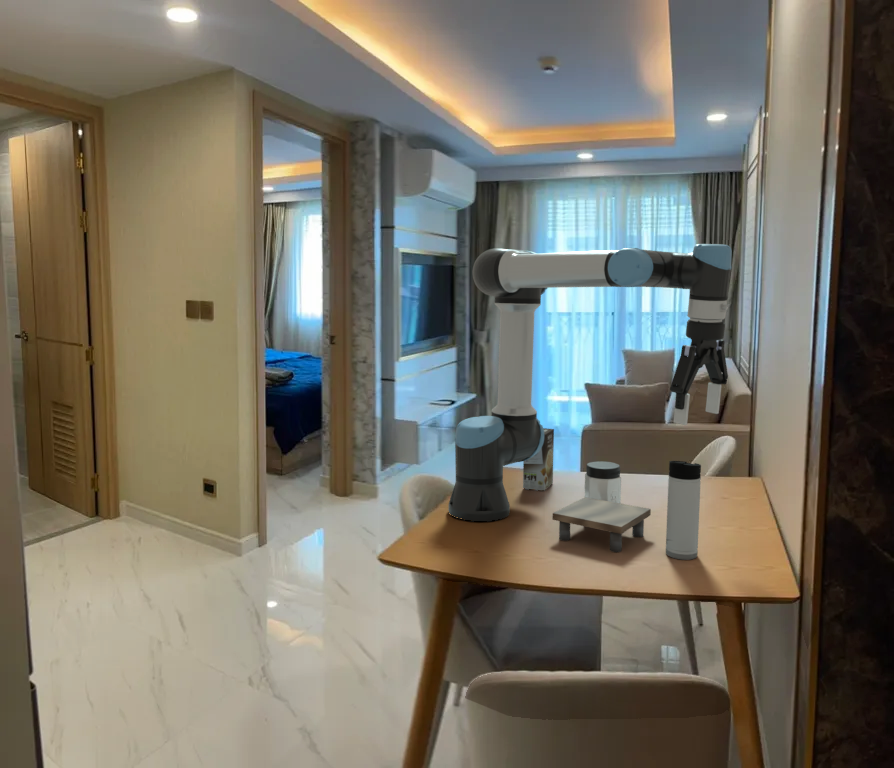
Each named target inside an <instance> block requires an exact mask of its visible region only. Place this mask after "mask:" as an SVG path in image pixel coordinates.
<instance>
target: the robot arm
mask: <svg viewBox="0 0 894 768" xmlns="http://www.w3.org/2000/svg"><path fill="white" fill-rule="evenodd" d="M732 255H733V252H732V247H731V246H729V245H728V244H722V243H721V244H720V243H719V244H718V243H712V244H711V243H697V244H695V245H694V246H693V251H692V252H675V251H659V250H647V249H642V248H638V247H627V248H626V247H625V248H621V249H615V250H614V249H611V250H610V249H609V250H608V249H607V250H605V249H604V250H588V251H586V250H585V251H567V252H566V251H564V252H561V251H560V252H544V253H543V252H541V253H536V252H534V251H530V250H526V249H525V250H524V249H511V248H509V249H508V248H507V249H506V248H499V247H498V248H496V247H495V248H489V249H487V250H485V251H484V252H482V253H480V255H479V256H478V257H477V258H475V259H476V260H475V261H474V263H473V267H472V278H473V281H474V284H475V286H476V287H477V289H479V291H480V292H482V293H483V294H484V295H487V296H490V297H494V305H495V306H496V307H497V309H498V310H499V311H500V314H499V342H498V343H499V345H498V346H499V349H498V350H499V351H498V381H497V384H498V385H497V404H496V405H495V406H494V407H492V409H491V415H480V416H479V415H478V416H471V417H469V418H466V419H463V420H461V421H460V422H459V423H458V424H457V426H456V427H455V428H456V430H455V436H454V444H455V445H454V446H455V447H454V449H455V453H454V454H455V460H454V461H455V482H454V485H453V486H454V487H453V489H452V492H451V495H450V498H449V502H448V510H447V511H449V513H450V514H451V515H453V516H455V517H458V518H462V519H465V520H472V521H471V522H474V521H487V522H493V521H492V520H495V521H499V520H498V519H500V520H503V519H506V518H508V516H509V515H510V514H511V513H510V512H511V511H510V510H511V507H510V502H509V499H508V495H507V492H506V489H505V486H504V466H508V465H512V464H515V463H521V462H523V461H525V460H527V459H529V458H531V457H533V456H535V455H536V454H537V453H538V452H539V451H540V449H541V448H542V446H543V443H544V429H543V428H544V426H543V425H542V424H541V420H539V419H538V417H537V415H538V413H537V410H536V409H535V408H534V407H533V405H532V386H533V365H534V363H533V359H534V357H533V356H534V355H533V354H534V334H535V333H534V332H535V313H536V312H535V311H536V310H537V309H538V308H539V307H540V306H541V303H542V295H543V294H545V292H546V290H547V289H549V288H607V287H608V288H615V287H616V288H643V287H644V288H662V289H663V288H665V289H682V290H689V298H688V306H687V307H688V308H687V314H686V315H687V317H688V318H689V319H688V320H686V329H685V335H686V336H685V337H687V338H688V339H690V340H691V343H690V345H687V344H682V347H681V352H680V357H679V360H678V363H677V366H676V369H675V372H674V375H673V378H672V381H671V384H670V387H669V390H670V392H672V393H675V401H674V411H673V412H674V413H673V424H677V425H682V426H687V425H688V418H689V408H690V400H691V398H690V397H691V394H690V393H689V390H691V386H692V385H693V382H694V380H695V378H696V376H697V374H698V372H699V370H700V369H702V368H703V367H704V366H705V369H706V372H707V374H708V377H709V380H710V382H708V384H707V393H706V404H705V412H707V413H710V414H714V415H718V414H719V413H720V412H719V411H720V406H721V405H720V404H721V403H720V402H721V396H722V395H721V394H722V385H727V383H728V379H729V375H728V373H729V372H728V367H727V361H726V355H725V354H726V352H725V340H724V337H725V329H726V323H725V322H724V321H723V320H725V319H726V316H727V310H728V309H729V306H728V304H727V303H728V300H729V299H728V298H729V297H728V295H729V287H730V281H731V280H730V279H731V272H732ZM449 513H448V514H449ZM509 513H510V514H509ZM505 517H506V518H505ZM502 518H503V519H502ZM465 520H464V521H465Z"/></svg>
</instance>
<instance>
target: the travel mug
mask: <svg viewBox="0 0 894 768" xmlns="http://www.w3.org/2000/svg"><path fill="white" fill-rule="evenodd" d="M668 465H669V466H668V480H667V485H668V486H667V506H666V507H667V510H666V511H667V512H666V531H665V532H666V534H665V535H666V536H665V538H666V539H665V554H666V555H667V556H668V557H670V558H672V559H675V560H681V561H684V560H685V561H691V560H694V559H696V558H697V557H698V551H699V550H698V548H699V529H700V528H699V527H700V525H699V524H700V505H701V504H700V502H701V483H702V482H701V480H702V479H701V478H702V477H701V472H702V465H701V464H700V463H696V462H695V463H691V462H690V463H689V462H687V461H683V460H670V461H669V463H668Z"/></svg>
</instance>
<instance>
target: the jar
mask: <svg viewBox="0 0 894 768" xmlns="http://www.w3.org/2000/svg"><path fill="white" fill-rule="evenodd" d="M620 475H621V465H620V464H618V463H616V462H611V461H598V460H597V461H590V462H588V463H586V472H585V473H584V497H588V498H593V499H599V500H605V501H610V502H616V503H621V501H622V500H621V498H622V497H621V495H622V477H621V476H620Z"/></svg>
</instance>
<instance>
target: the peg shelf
mask: <svg viewBox="0 0 894 768" xmlns="http://www.w3.org/2000/svg"><path fill="white" fill-rule="evenodd" d="M651 513H652V510H651V508H649V507H648V508H647V507H644V506H636V505H631V504H626V503H625V504H624V503H621V502H620V503H616V502H610V501H605V500H599V499H593V498H588V497H585V496H584V497H583V498H581V499H578V500H576V501H574V502H572V503H571V504H569V505H566V506H564V507H562V508H559V509H558V510H555V511H553V512H552V520H553V521H556V522H557V521H558V522H559V524H558V525H559V529H558V534H559V535H558V540H560V541H564V542H565V541H570V540H571V524H572V525H576V526H581V527H586V528H591V529H596V530H601V531H605V532H609V533H610V534H609V551H610V552H612V553H620V552H622V544H623V543H622V541H623V539H622V538H623V534H624V533H625V532H627V531H629V530H630V529H632V533H631V535H632V537H636V538H643V537H644V530H645V529H644V528H645V527H644V526H645V519H647V518H649V517H650V516H651Z"/></svg>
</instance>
